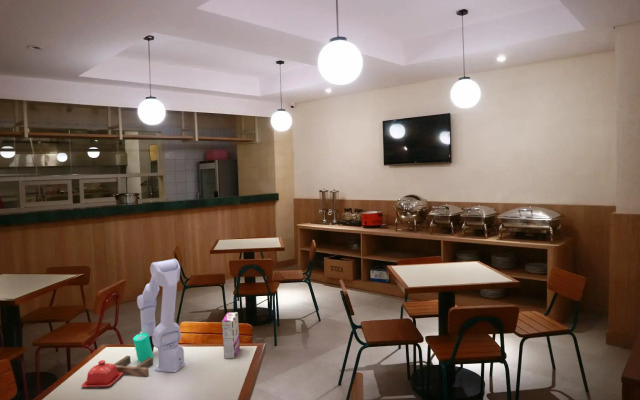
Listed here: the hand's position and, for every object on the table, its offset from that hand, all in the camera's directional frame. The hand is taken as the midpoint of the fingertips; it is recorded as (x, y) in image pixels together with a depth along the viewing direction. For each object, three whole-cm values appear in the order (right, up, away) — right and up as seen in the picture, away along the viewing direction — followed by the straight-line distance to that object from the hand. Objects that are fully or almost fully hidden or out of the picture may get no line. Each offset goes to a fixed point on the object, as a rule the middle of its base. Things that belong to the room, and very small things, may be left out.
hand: (150, 353), depth 198 cm
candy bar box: (+35, -1, 0) cm, 35 cm away
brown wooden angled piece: (-3, -2, -11) cm, 12 cm away
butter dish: (-10, -4, -22) cm, 25 cm away
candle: (-1, -1, -3) cm, 3 cm away
